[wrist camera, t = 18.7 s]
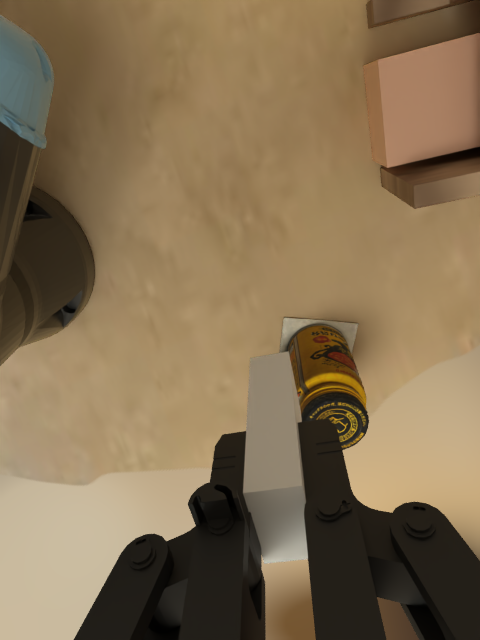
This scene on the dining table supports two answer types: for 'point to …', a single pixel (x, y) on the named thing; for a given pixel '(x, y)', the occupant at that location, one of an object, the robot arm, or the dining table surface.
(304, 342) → the condiment
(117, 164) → the dining table surface
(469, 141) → the pink rectangular block
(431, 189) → the dock
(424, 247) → the dining table surface
